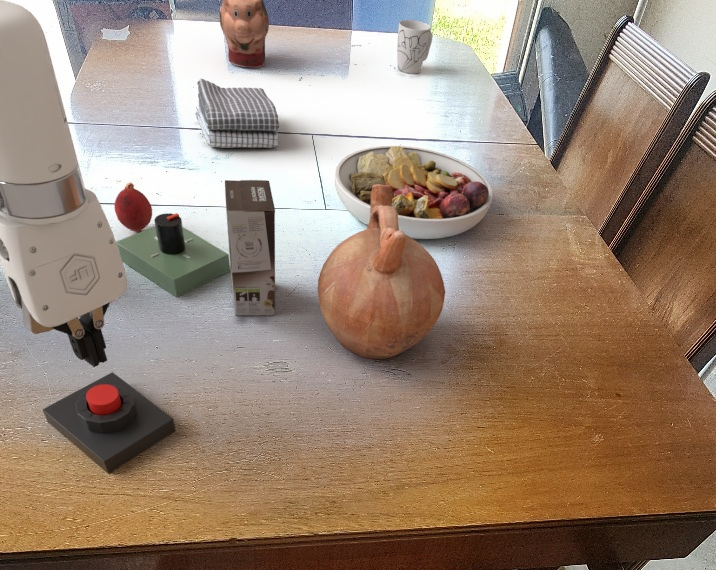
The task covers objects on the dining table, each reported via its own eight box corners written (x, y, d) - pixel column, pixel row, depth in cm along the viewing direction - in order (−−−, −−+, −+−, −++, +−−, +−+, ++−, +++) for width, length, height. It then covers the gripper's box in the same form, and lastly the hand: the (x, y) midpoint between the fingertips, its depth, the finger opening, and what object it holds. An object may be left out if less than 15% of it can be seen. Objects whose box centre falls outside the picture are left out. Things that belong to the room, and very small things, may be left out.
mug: (415, 61, 171) (422, 17, 163) (437, 71, 167) (445, 26, 160) (387, 67, 165) (392, 21, 158) (408, 77, 162) (415, 31, 154)
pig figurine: (220, 46, 163) (216, -21, 152) (266, 48, 165) (264, -18, 154) (224, 73, 151) (219, 2, 140) (273, 75, 153) (272, 6, 142)
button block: (47, 422, 74) (37, 398, 71) (116, 384, 80) (109, 360, 77) (108, 474, 71) (100, 450, 67) (176, 431, 76) (171, 407, 73)
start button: (83, 405, 72) (79, 394, 71) (109, 391, 74) (105, 379, 72) (102, 420, 71) (98, 409, 69) (127, 405, 73) (124, 394, 71)
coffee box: (276, 316, 92) (275, 211, 79) (234, 316, 91) (226, 210, 78) (272, 282, 98) (270, 178, 85) (231, 282, 96) (223, 177, 84)
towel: (209, 153, 123) (205, 110, 117) (195, 116, 133) (191, 75, 127) (281, 151, 127) (281, 109, 121) (263, 115, 137) (262, 75, 131)
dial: (170, 257, 94) (166, 227, 90) (153, 247, 95) (148, 217, 91) (190, 248, 96) (186, 218, 92) (173, 238, 97) (169, 208, 93)
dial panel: (119, 259, 97) (114, 241, 95) (173, 236, 103) (170, 218, 100) (176, 297, 93) (173, 278, 90) (230, 271, 98) (228, 253, 96)
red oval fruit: (143, 244, 101) (134, 195, 94) (113, 235, 101) (101, 186, 95) (161, 228, 104) (153, 180, 98) (131, 220, 105) (122, 171, 99)
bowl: (308, 218, 111) (309, 173, 105) (366, 158, 129) (370, 117, 123) (462, 264, 107) (473, 221, 100) (500, 196, 124) (512, 155, 118)
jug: (443, 377, 87) (478, 245, 71) (318, 374, 85) (326, 237, 69) (424, 302, 98) (451, 174, 83) (313, 297, 96) (319, 165, 80)
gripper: (-22, 232, 47) (52, 407, 61) (137, 177, 55) (169, 344, 69) (-72, 197, 50) (10, 373, 64) (86, 149, 57) (127, 316, 72)
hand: (92, 358), depth 66 cm, fingers closed
